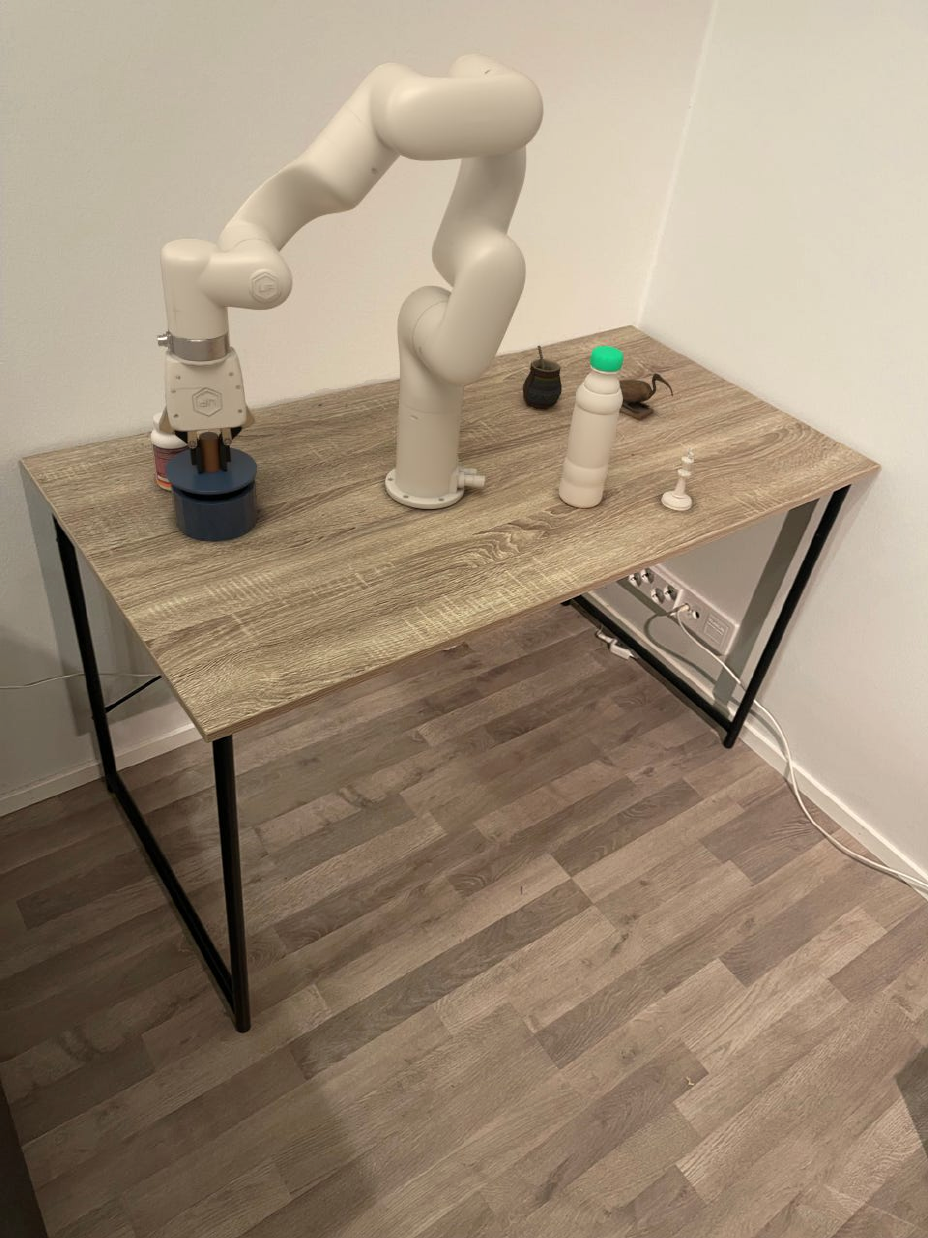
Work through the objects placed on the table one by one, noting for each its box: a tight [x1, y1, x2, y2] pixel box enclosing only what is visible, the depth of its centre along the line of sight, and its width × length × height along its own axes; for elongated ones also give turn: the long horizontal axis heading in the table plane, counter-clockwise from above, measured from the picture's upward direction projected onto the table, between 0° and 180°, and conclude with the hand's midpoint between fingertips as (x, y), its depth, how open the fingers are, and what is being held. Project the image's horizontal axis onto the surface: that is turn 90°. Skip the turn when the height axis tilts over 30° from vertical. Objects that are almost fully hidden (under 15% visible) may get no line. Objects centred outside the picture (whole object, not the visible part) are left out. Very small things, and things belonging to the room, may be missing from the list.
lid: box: [165, 431, 258, 495], centre depth 130 cm, size 13×13×6 cm
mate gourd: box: [522, 345, 563, 411], centre depth 172 cm, size 7×8×10 cm
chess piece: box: [660, 447, 695, 512], centre depth 149 cm, size 5×5×10 cm
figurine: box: [619, 373, 674, 421], centre depth 173 cm, size 14×4×9 cm, turn 47°
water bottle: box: [558, 345, 624, 509], centre depth 142 cm, size 7×7×25 cm
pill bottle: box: [150, 410, 190, 492], centre depth 140 cm, size 6×6×11 cm
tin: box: [171, 477, 259, 542], centre depth 135 cm, size 12×12×6 cm
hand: (211, 466), depth 131 cm, fingers closed on lid, 2 cm apart
